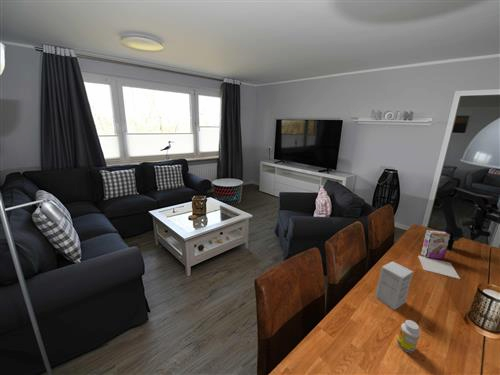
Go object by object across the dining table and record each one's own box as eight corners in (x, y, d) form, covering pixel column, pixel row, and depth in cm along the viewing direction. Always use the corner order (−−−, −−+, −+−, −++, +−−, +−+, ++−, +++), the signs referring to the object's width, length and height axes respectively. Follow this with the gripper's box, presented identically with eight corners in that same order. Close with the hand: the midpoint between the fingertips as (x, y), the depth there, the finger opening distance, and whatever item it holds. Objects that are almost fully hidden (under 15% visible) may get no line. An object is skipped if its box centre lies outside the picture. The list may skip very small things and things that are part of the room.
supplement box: (405, 303, 104) (414, 271, 99) (395, 310, 99) (403, 278, 95) (384, 289, 112) (392, 260, 107) (374, 296, 107) (381, 265, 102)
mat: (418, 256, 143) (418, 255, 142) (450, 263, 136) (450, 263, 136) (424, 270, 129) (424, 269, 129) (460, 279, 122) (460, 278, 122)
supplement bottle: (397, 336, 87) (404, 315, 84) (415, 345, 84) (422, 323, 81) (395, 346, 83) (401, 324, 80) (413, 356, 80) (421, 334, 77)
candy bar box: (425, 258, 140) (431, 232, 137) (420, 254, 145) (425, 229, 142) (445, 259, 139) (450, 234, 136) (439, 255, 144) (444, 231, 141)
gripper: (457, 208, 145) (450, 230, 150) (469, 219, 129) (461, 243, 133) (480, 212, 141) (472, 234, 145) (495, 223, 125) (486, 248, 129)
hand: (472, 240), depth 138 cm, fingers closed
